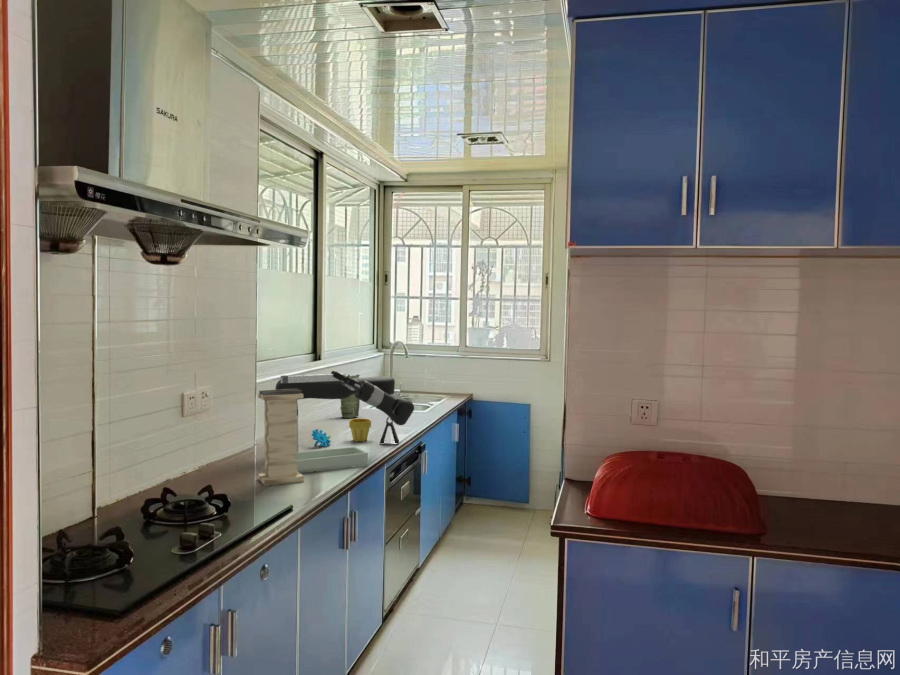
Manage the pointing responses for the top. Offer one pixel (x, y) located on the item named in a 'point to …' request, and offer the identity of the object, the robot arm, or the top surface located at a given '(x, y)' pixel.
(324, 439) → the gear
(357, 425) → the plant pot
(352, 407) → the pouch
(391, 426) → the pliers
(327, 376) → the grey metal block
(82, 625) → the top surface
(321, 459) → the tray
